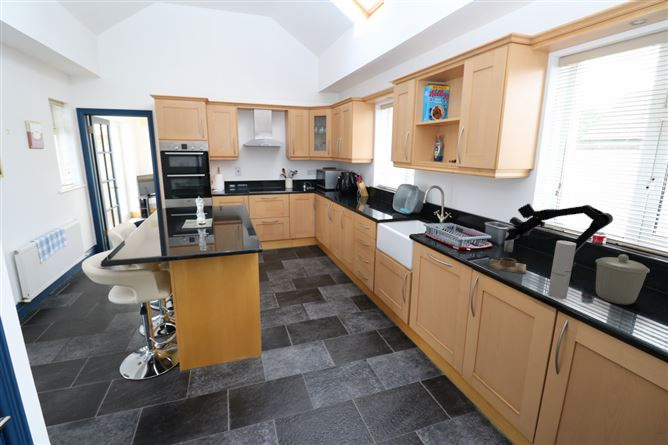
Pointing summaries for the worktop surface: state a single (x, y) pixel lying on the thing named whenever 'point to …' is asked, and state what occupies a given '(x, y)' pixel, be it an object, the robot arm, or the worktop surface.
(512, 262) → the wooden collar
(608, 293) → the canister
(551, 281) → the cylindrical container
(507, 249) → the steel tube
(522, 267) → the oak base board
